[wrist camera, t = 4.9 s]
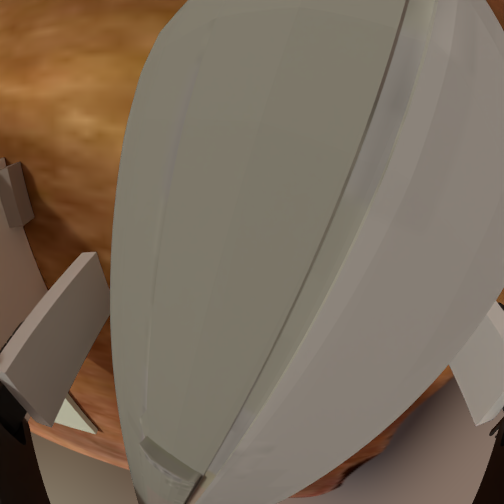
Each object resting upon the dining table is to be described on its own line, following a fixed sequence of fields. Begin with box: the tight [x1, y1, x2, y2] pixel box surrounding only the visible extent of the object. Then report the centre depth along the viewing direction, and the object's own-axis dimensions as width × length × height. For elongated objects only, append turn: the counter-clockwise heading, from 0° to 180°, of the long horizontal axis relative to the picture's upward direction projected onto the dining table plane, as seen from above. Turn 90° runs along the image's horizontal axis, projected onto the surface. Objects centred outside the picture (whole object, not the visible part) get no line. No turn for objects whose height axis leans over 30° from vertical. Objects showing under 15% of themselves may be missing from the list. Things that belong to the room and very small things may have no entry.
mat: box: [54, 394, 98, 434], centre depth 19 cm, size 19×12×1 cm, turn 4°
